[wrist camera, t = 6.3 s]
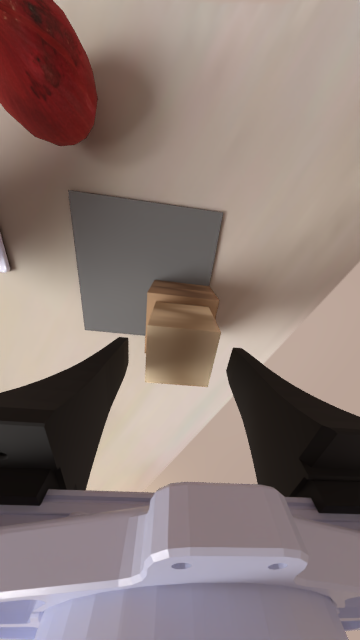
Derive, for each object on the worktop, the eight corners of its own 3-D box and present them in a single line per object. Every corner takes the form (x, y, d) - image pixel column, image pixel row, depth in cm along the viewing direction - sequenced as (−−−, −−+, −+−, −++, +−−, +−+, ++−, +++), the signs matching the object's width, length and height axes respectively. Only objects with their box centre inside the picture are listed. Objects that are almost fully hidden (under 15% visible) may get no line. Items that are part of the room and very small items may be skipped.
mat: (86, 328, 21) (84, 329, 21) (70, 191, 16) (68, 190, 15) (198, 339, 22) (198, 340, 22) (222, 213, 17) (223, 212, 16)
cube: (152, 346, 16) (144, 382, 12) (155, 301, 14) (147, 325, 10) (200, 351, 17) (207, 387, 13) (208, 307, 15) (221, 332, 11)
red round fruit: (101, 55, 12) (-7, -206, 5) (120, 159, 15) (65, 80, 8) (22, 66, 13) (-192, -174, 5) (53, 167, 15) (-64, 97, 8)
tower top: (148, 339, 19) (144, 353, 17) (151, 285, 16) (147, 292, 14) (202, 344, 19) (206, 358, 17) (213, 292, 17) (219, 300, 15)
